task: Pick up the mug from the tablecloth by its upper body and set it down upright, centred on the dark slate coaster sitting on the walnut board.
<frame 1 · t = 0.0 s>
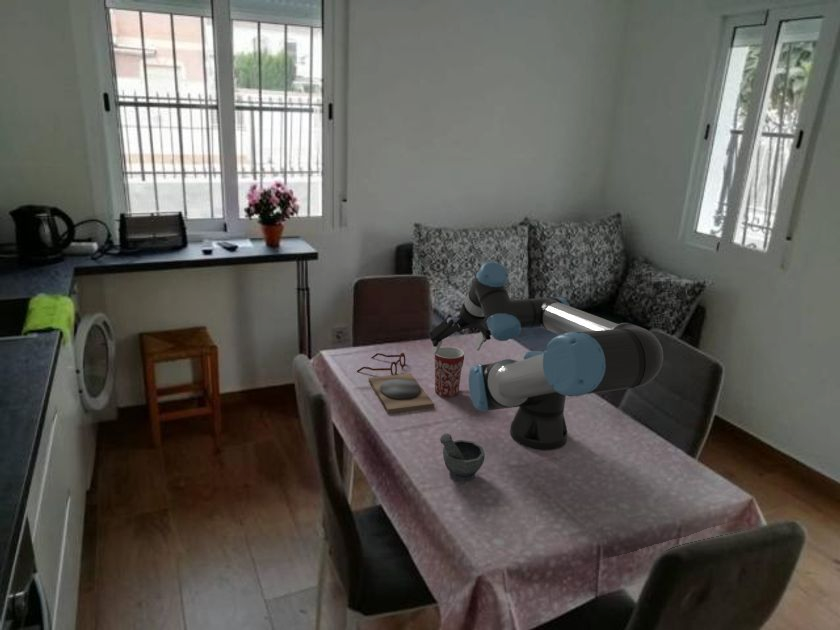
hand: (455, 348, 180), 15 cm above the table, tool tilted 35°, fingers open, 13 cm apart
mug: (449, 391, 188), on the table
board: (399, 394, 184), on the table
mortar and pestle: (459, 477, 144), on the table
glasses: (381, 369, 203), on the table
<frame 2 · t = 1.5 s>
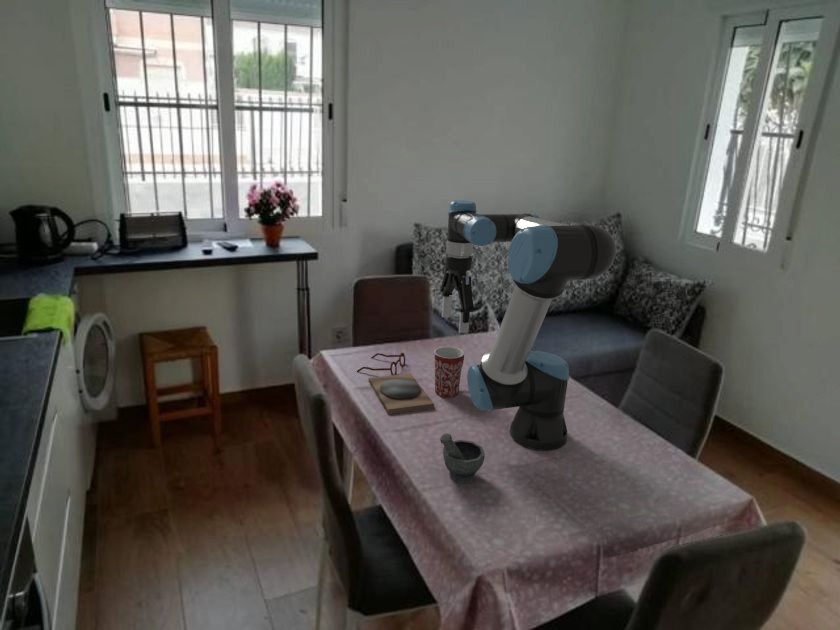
hand: (454, 324, 181), 22 cm above the table, tool pointing down, fingers open, 13 cm apart
nothing on the table moved.
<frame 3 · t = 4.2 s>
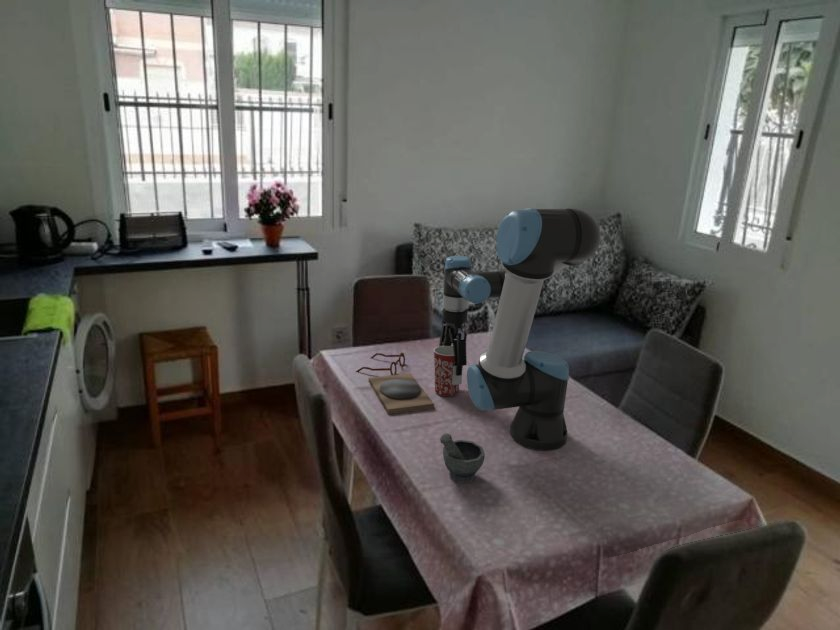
hand: (450, 377, 186), 4 cm above the table, tool pointing down, fingers closed on mug, 9 cm apart
mug: (449, 390, 188), on the table, touching gripper
everything else where it was.
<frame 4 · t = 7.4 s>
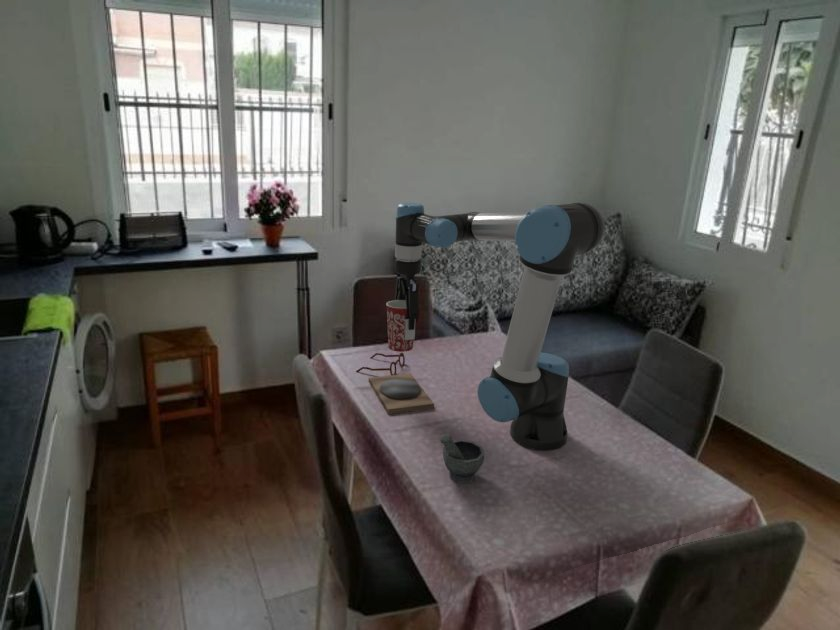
hand: (405, 333, 178), 20 cm above the table, tool pointing down, fingers closed on mug, 9 cm apart
mug: (404, 347, 179), point 15 cm above the table, touching gripper
everything else where it was.
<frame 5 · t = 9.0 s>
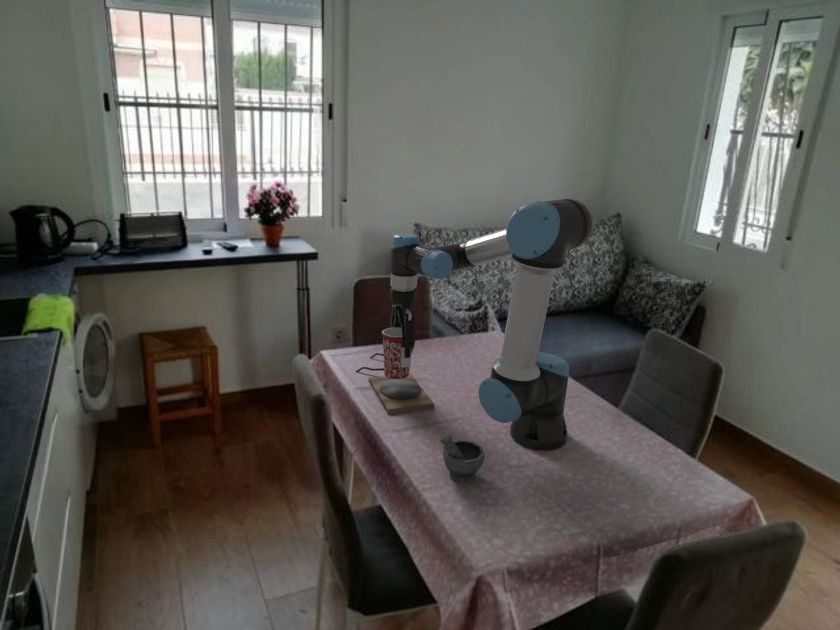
hand: (400, 360, 180), 11 cm above the table, tool pointing down, fingers closed on mug, 9 cm apart
mug: (400, 373, 182), point 7 cm above the table, touching gripper
everything else where it was.
when the fingers open (8 cm above the table, at t = 10.6 s): mug drops 1 cm, resting on board.
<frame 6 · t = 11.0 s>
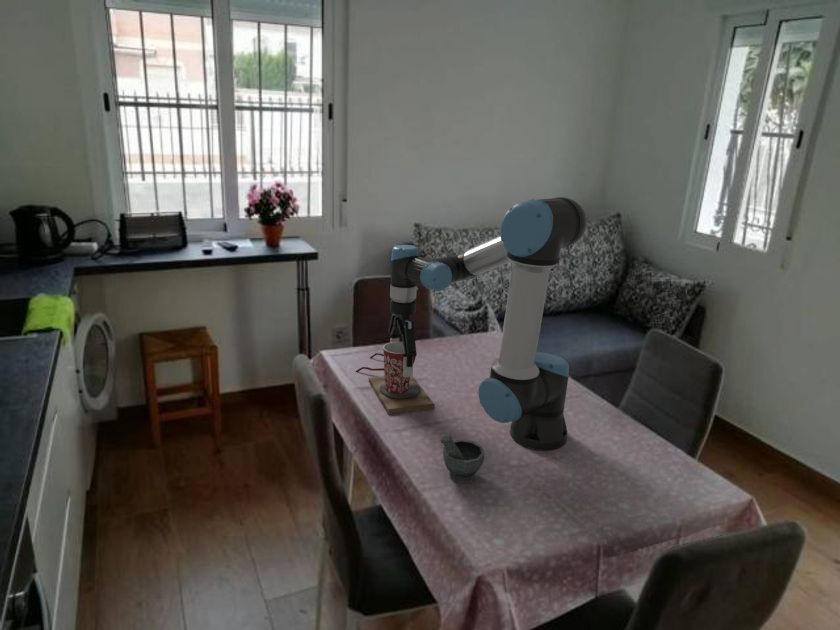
hand: (400, 366, 181), 9 cm above the table, tool pointing down, fingers open, 13 cm apart
mug: (400, 387, 183), point 2 cm above the table, touching board
everything else where it was.
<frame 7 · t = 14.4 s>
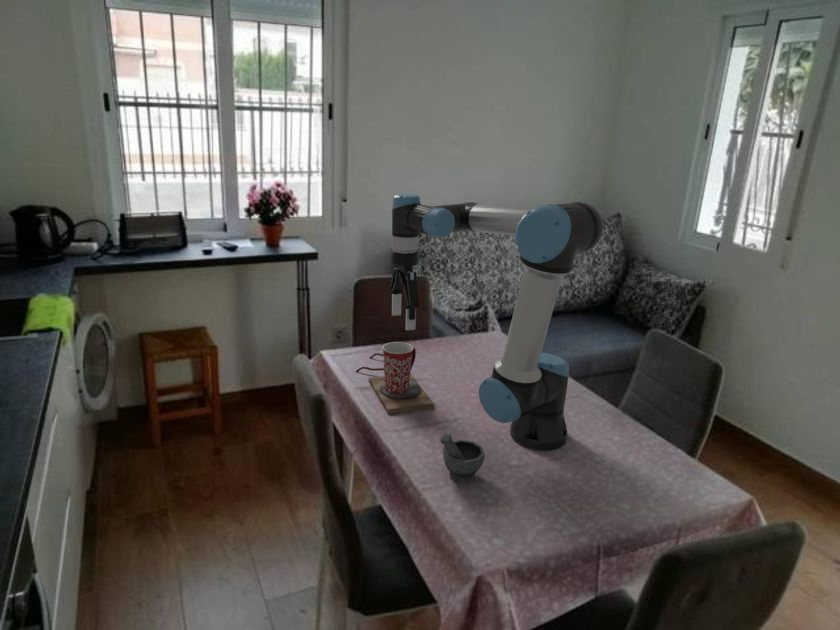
hand: (403, 322, 176), 23 cm above the table, tool pointing down, fingers open, 13 cm apart
nothing on the table moved.
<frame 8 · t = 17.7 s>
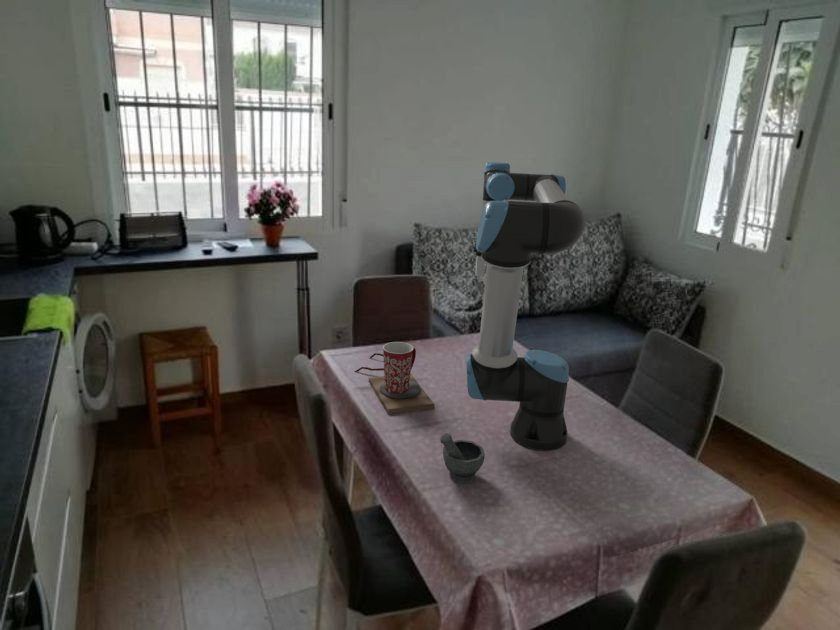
hand: (488, 281, 191), 32 cm above the table, tool pointing down, fingers open, 13 cm apart
nothing on the table moved.
at the end: mug inside the target area on the board (0.2 cm from its centre), point 2.3 cm above the board's base; mug tilted 0°; the gripper is holding nothing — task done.
